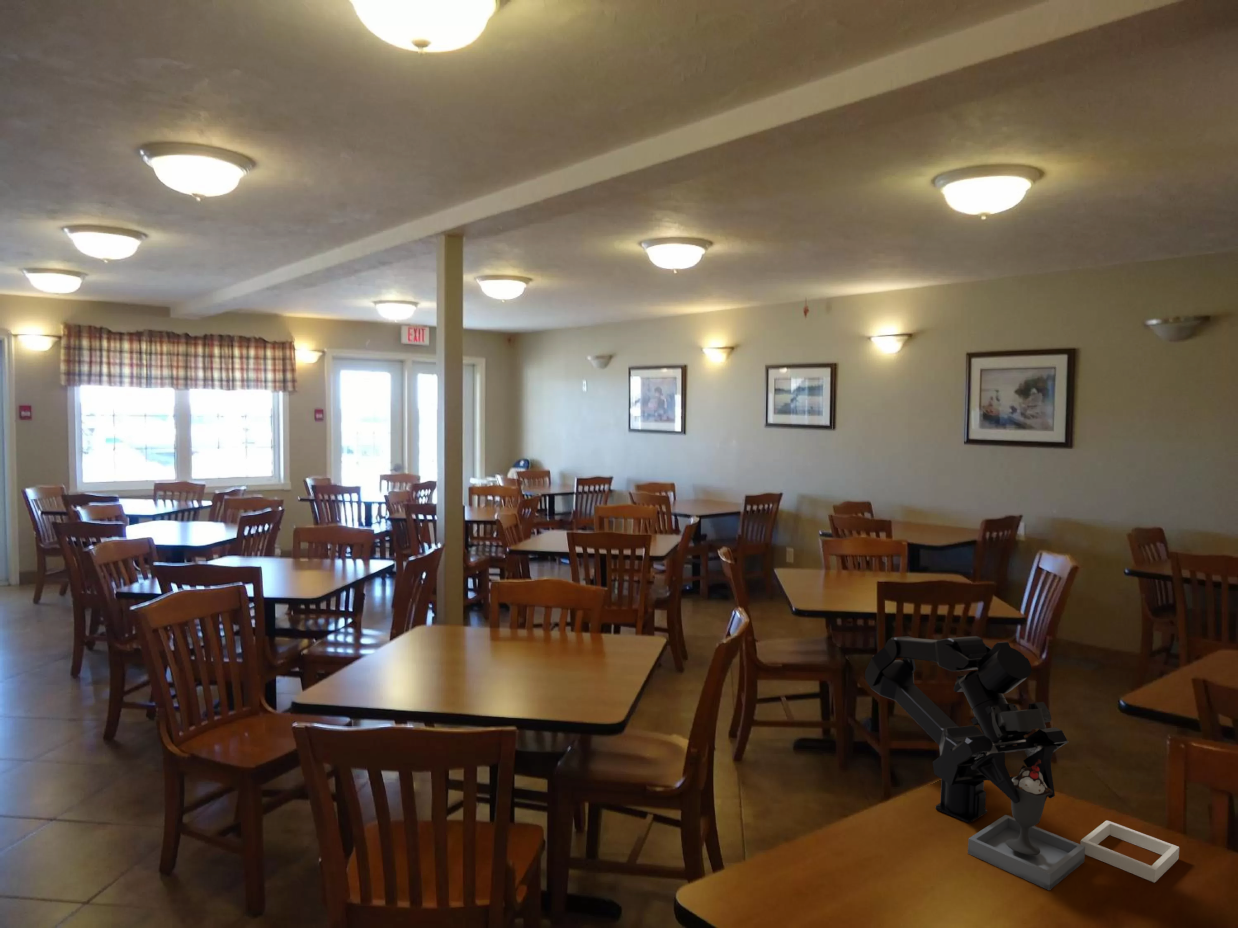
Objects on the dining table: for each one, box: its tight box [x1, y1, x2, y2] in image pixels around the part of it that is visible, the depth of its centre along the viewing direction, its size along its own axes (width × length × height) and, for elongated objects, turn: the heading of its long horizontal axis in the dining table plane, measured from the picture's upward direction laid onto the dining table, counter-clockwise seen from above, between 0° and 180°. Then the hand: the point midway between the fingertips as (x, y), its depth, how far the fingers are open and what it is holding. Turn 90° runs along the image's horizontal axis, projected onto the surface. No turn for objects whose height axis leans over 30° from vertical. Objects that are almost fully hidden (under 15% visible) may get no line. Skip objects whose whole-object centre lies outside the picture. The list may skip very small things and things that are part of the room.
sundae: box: [1006, 760, 1053, 855], centre depth 129 cm, size 7×7×15 cm
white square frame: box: [1079, 820, 1180, 884], centre depth 130 cm, size 11×11×2 cm
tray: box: [967, 814, 1086, 891], centre depth 129 cm, size 13×13×2 cm
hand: (1035, 799), depth 127 cm, fingers closed on sundae, 6 cm apart
